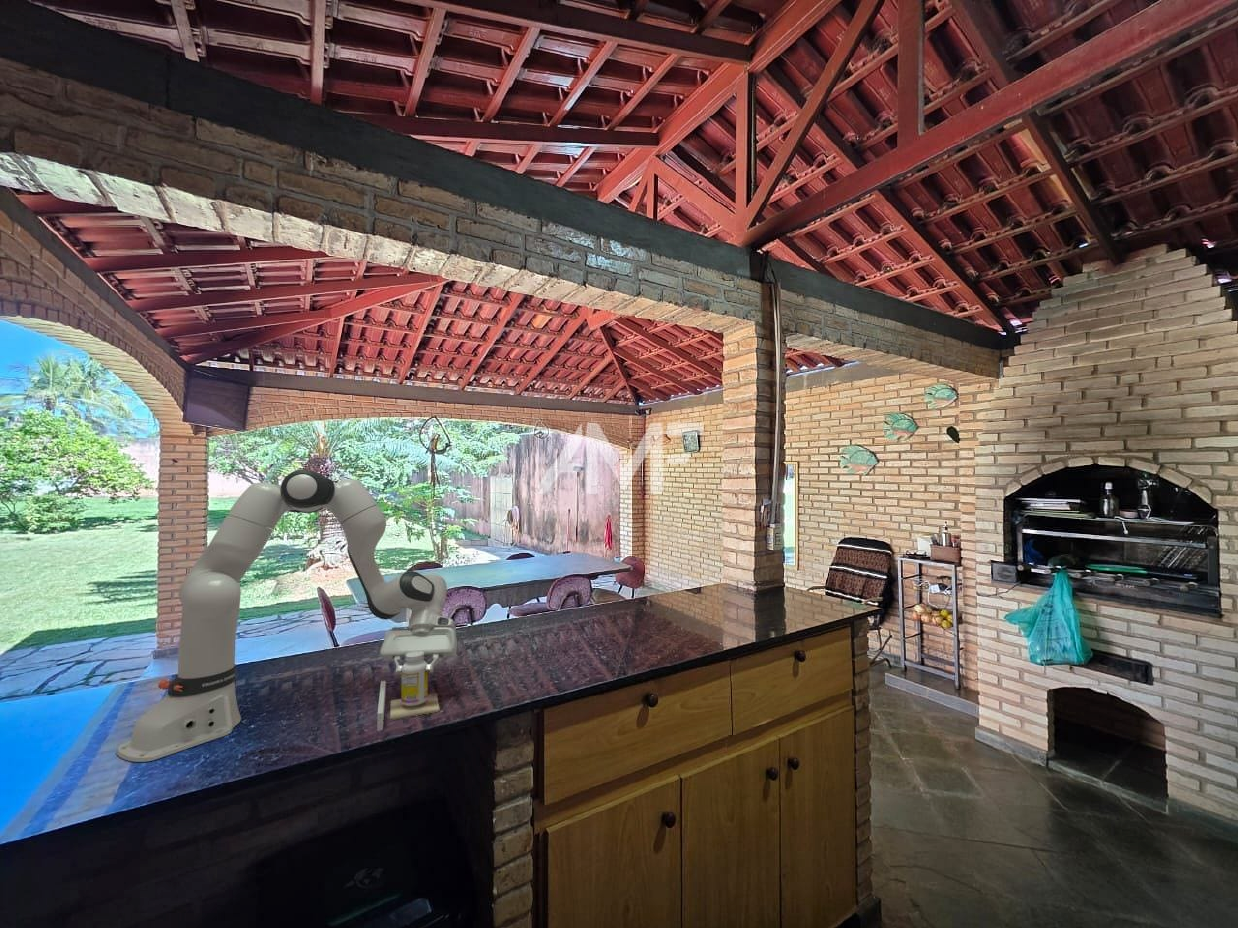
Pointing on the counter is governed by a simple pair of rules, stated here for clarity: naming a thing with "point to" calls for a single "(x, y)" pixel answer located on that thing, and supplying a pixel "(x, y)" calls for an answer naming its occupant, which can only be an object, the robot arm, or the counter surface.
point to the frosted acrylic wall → (381, 706)
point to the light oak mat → (414, 708)
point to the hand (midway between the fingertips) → (414, 672)
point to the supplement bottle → (414, 679)
